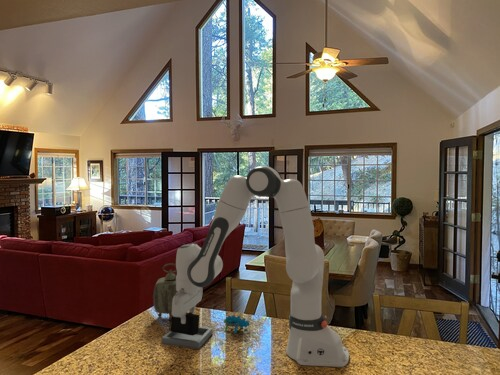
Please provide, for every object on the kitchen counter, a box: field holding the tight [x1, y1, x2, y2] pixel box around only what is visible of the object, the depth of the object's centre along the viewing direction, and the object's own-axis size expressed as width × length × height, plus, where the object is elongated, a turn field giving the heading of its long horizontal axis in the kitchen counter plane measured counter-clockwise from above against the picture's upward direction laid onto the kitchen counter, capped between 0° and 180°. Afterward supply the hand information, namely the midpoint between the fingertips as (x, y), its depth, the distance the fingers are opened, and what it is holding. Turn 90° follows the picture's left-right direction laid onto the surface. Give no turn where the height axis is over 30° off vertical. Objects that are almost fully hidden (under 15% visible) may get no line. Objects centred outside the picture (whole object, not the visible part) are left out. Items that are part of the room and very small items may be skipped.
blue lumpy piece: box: [223, 315, 250, 335], centre depth 155 cm, size 11×6×10 cm
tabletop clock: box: [152, 262, 178, 322], centre depth 168 cm, size 14×9×25 cm, turn 94°
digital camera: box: [169, 312, 200, 336], centre depth 148 cm, size 10×5×7 cm, turn 65°
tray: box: [161, 326, 214, 350], centre depth 148 cm, size 15×13×2 cm
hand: (187, 319), depth 148 cm, fingers closed on digital camera, 5 cm apart
